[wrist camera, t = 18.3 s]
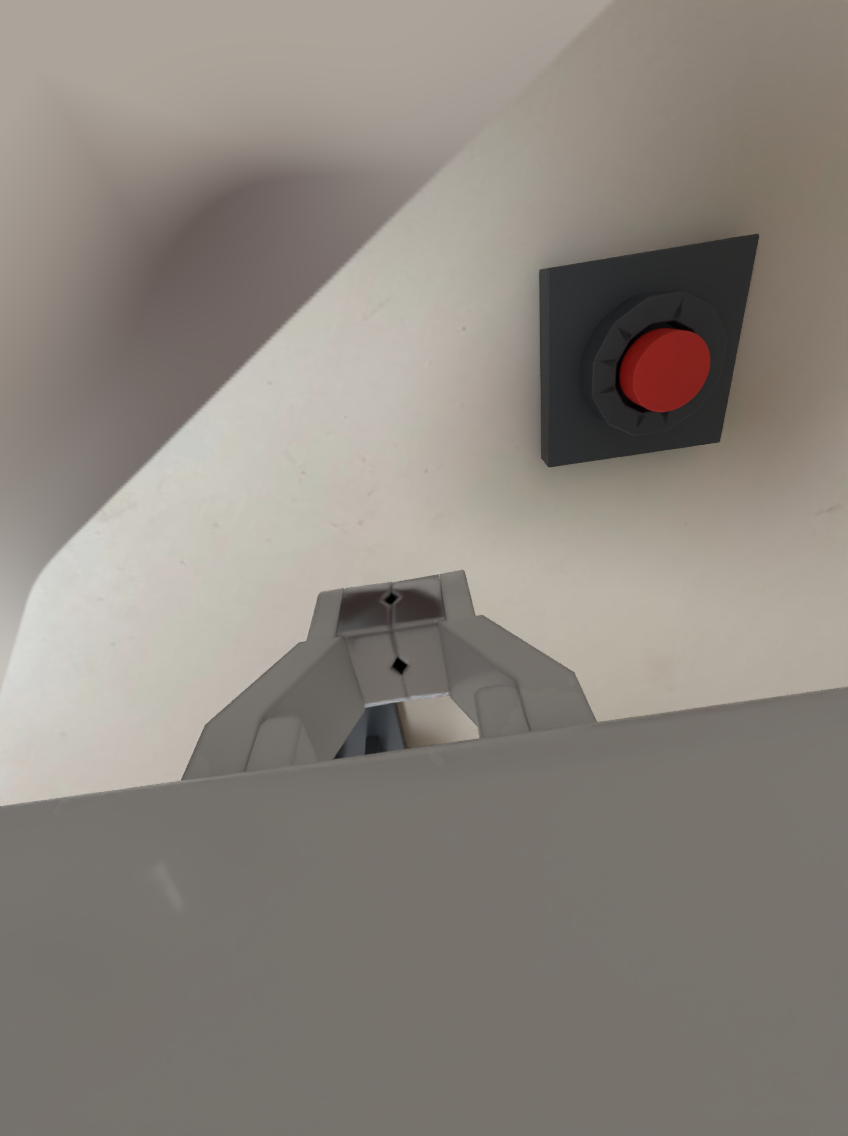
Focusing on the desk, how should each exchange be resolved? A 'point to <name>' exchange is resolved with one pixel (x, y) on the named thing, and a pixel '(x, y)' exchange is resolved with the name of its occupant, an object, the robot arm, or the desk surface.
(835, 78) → the desk surface
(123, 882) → the robot arm
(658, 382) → the red button
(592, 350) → the button box
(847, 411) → the desk surface
